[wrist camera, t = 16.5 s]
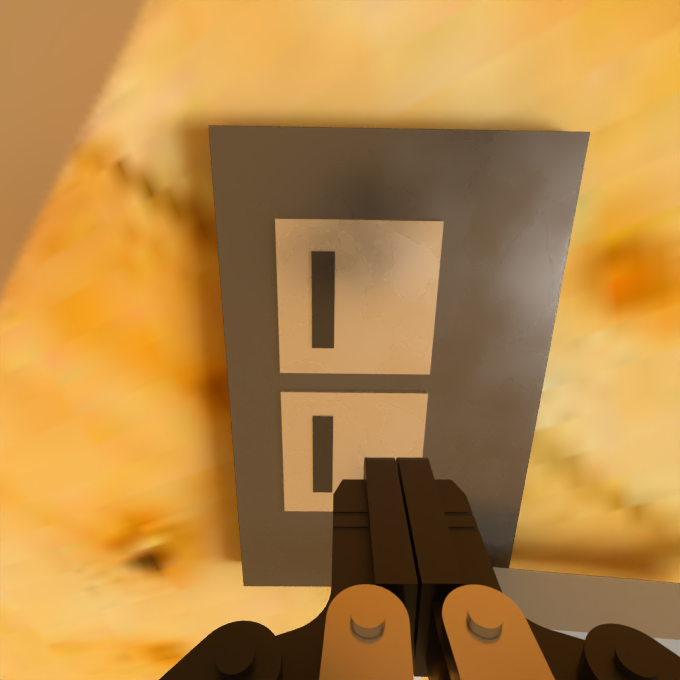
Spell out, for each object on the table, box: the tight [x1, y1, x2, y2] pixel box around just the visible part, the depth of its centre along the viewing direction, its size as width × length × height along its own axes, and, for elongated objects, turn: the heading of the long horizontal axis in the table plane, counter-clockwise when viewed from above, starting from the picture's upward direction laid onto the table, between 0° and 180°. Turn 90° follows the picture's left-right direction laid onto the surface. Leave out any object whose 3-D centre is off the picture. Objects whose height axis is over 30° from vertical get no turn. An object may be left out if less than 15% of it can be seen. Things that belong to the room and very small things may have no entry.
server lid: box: [209, 125, 590, 586], centre depth 23 cm, size 24×15×2 cm, turn 179°
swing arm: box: [413, 567, 680, 680], centre depth 23 cm, size 22×3×7 cm, turn 83°
